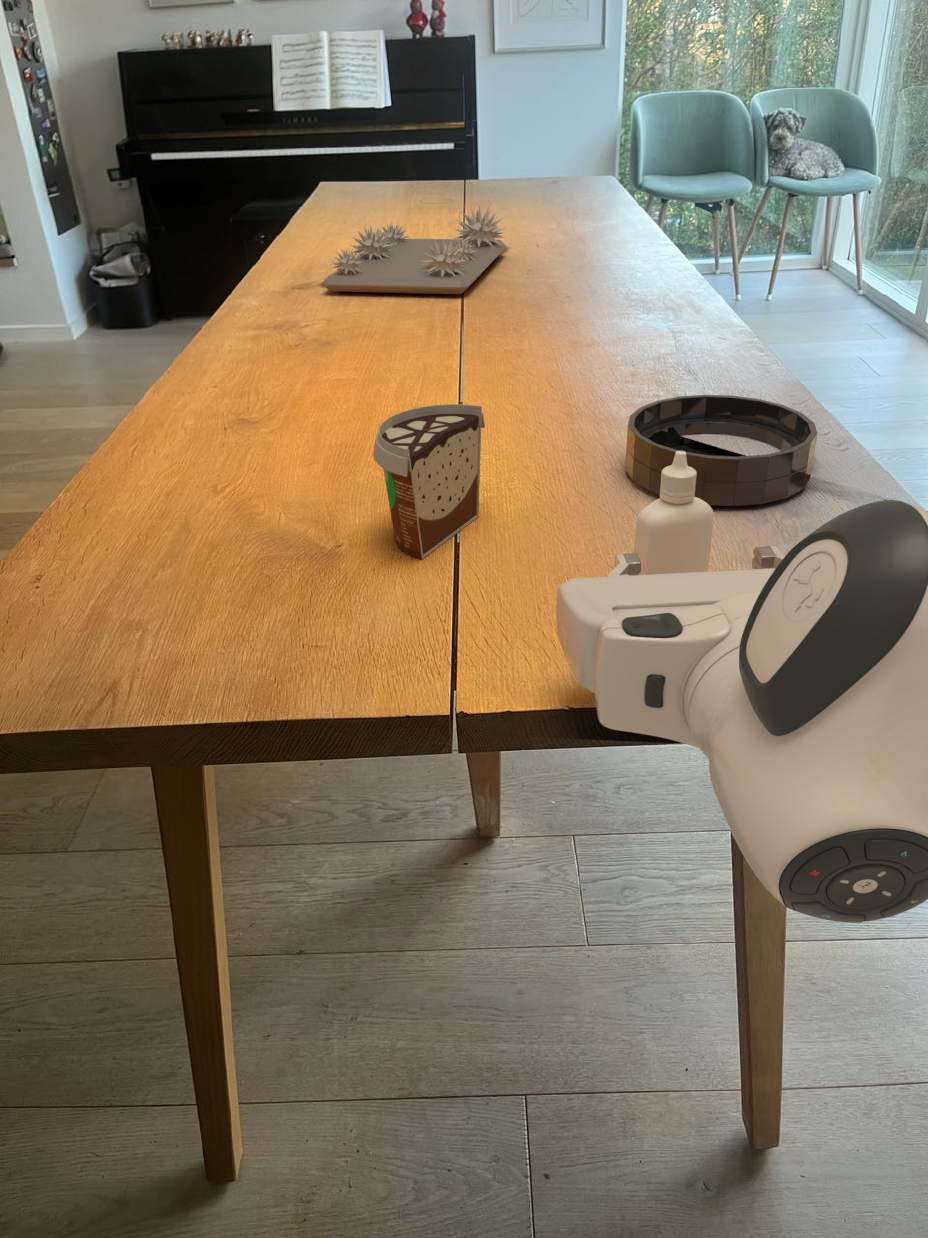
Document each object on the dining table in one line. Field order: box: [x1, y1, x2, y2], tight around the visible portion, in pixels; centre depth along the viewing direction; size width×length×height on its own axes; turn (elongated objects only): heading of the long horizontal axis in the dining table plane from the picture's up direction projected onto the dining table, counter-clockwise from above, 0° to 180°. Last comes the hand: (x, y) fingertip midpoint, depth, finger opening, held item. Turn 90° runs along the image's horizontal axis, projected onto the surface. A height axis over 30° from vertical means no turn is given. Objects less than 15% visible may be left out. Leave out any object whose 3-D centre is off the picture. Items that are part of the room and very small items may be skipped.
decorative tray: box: [321, 205, 507, 295], centre depth 174 cm, size 35×26×10 cm
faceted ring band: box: [624, 394, 818, 507], centre depth 94 cm, size 17×17×5 cm
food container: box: [372, 403, 486, 560], centre depth 84 cm, size 12×6×10 cm, turn 149°
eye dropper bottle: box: [633, 451, 714, 575], centre depth 72 cm, size 4×6×12 cm
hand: (694, 559), depth 67 cm, fingers open, 8 cm apart
